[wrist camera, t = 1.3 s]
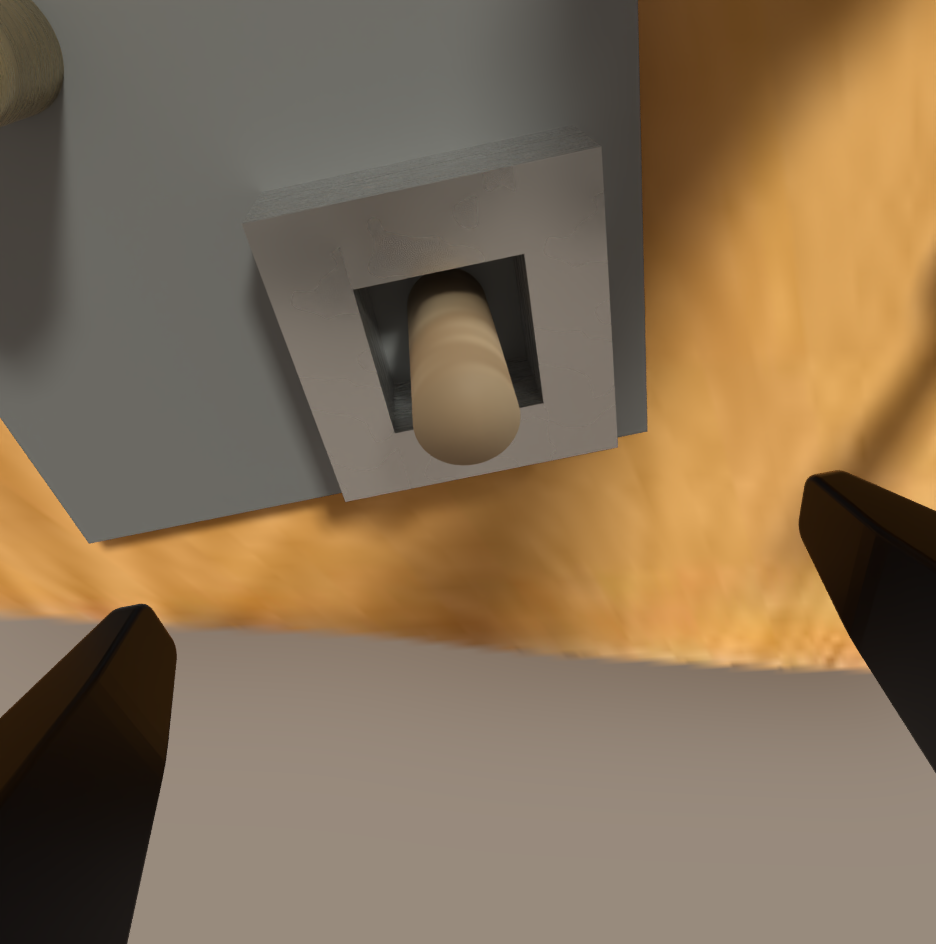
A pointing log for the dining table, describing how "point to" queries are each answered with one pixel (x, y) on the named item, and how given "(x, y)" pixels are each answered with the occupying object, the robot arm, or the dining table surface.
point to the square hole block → (433, 250)
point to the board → (228, 203)
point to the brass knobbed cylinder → (27, 61)
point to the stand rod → (458, 371)
